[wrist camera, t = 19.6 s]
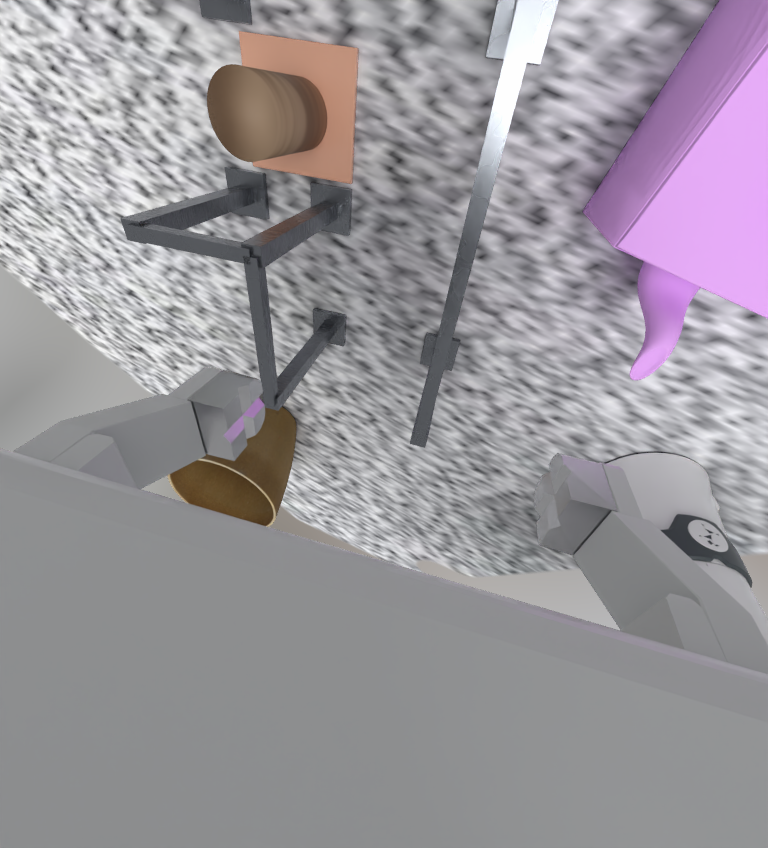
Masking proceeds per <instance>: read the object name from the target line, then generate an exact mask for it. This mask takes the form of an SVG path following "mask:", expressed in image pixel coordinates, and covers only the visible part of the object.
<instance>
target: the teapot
mask: <svg viewBox="0 0 768 848" xmlns="http://www.w3.org/2000/svg"><path fill="white" fill-rule="evenodd" d="M582 212H583V213H584V214H585V215H586V216H587V217H588V219H589V220H590V221H591V222H592V223H593V224H594V225H595V227H596V228H597V229H598V230H599V231H600V232H601V233H602V235H603V236H604V237H605V238H606V239H607V240H608V241H609V243H610V244H611V245H612V246H613V247H615V248H617V249H619V250H621V251H623V252H625V253H628V254H630V255H632V256H634V257H636V258H638V259H640V260H643V261H644V262H643V265H642V267H641V270H640V273H639V277H638V284H637V286H638V296H639V300H640V305H641V308H642V312H643V315H644V319H645V326H646V332H645V340H644V343H643V347H642V349H641V351H640V353H639V354H638V356H637V358H636V360H635V362H634V364H633V366H632V368H631V371H630V378H631V379H632V380H641V379H643V378H645V377H647V376H649V375H650V374H651V373H653V372H654V371H655V370H657V369H658V368H659V367H660V366H661V365H662V364H663V363H664V362H665V361H666V360H667V358H668V357H669V356H670V354H671V353H672V351H673V349H674V347H675V345H676V343H677V341H678V339H679V336H680V334H681V330H682V326H683V321H684V317H685V313H686V310H687V307H688V305H689V303H690V301H691V300H692V298H693V297H694V295H695V294H696V292H697V291H698V290H699V289H700V287H701V288H703V289H705V290H707V291H710V292H712V293H714V294H716V295H718V296H720V297H723V298H725V299H727V300H729V301H731V302H733V303H736V304H738V305H740V306H742V307H744V308H746V309H748V310H751V311H753V312H755V313H757V314H759V315H761V316H764V317H766V318H768V0H719V1H718V3H717V4H716V6H715V8H714V9H713V11H712V12H711V14H710V15H709V17H708V18H707V20H706V21H705V23H704V25H703V26H702V28H701V29H700V31H699V32H698V34H697V35H696V37H695V38H694V40H693V42H692V43H691V45H690V46H689V48H688V49H687V51H686V52H685V54H684V55H683V57H682V59H681V60H680V62H679V63H678V65H677V66H676V68H675V69H674V71H673V72H672V74H671V76H670V77H669V79H668V80H667V82H666V83H665V85H664V86H663V88H662V89H661V91H660V93H659V94H658V96H657V97H656V99H655V100H654V102H653V103H652V105H651V106H650V108H649V110H648V111H647V113H646V114H645V116H644V117H643V119H642V120H641V122H640V123H639V125H638V126H637V128H636V130H635V131H634V133H633V134H632V136H631V137H630V139H629V140H628V142H627V143H626V145H625V147H624V148H623V150H622V151H621V153H620V154H619V156H618V157H617V159H616V160H615V162H614V164H613V165H612V167H611V168H610V170H609V171H608V173H607V174H606V176H605V177H604V179H603V181H602V182H601V184H600V185H599V187H598V188H597V190H596V191H595V193H594V194H593V196H592V198H591V199H590V201H589V202H588V204H587V205H586V207H585V208H584V210H583V211H582Z"/></svg>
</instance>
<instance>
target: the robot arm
mask: <svg viewBox="0 0 768 848" xmlns="http://www.w3.org/2000/svg"><path fill="white" fill-rule="evenodd" d="M262 393H263V389H262V382H261V381H260V380H258V379H256V378H252V377H249V376H245V375H241V374H238V373H234V372H230V371H227V370H226V371H225V370H222V369H218V368H214V367H211V366H210V367H204V368H203V369H202V370H200V371H199V372H198V373H196V374H195V375H194V376H192V377H191V378H190V379H188V380H187V381H186V382H185V383H183V384H182V385H181V386H179V387H178V388H177V389H175V390H174V391H173V392H171V393H170V394H169V395H164V394H161V395H157V396H153V397H150V398H146V399H142V400H138V401H134V402H131V403H127V404H123V405H120V406H116V407H112V408H108V409H104V410H100V411H97V412H93V413H89V414H86V415H82V416H78V417H74V418H70V419H67V420H63V421H60V422H58V423H57V424H55V425H54V426H52V427H50V428H49V429H47V430H46V431H44V432H42V433H41V434H39V435H38V436H36V437H35V438H33V439H32V440H30V441H28V442H27V443H25V444H24V445H22V446H20V447H19V448H17V449H16V450H14V451H13V452H12V451H9V450H5V449H2V448H0V848H768V618H767V616H766V615H765V613H764V611H763V609H762V607H761V606H760V604H759V602H758V601H757V598H756V597H755V595H754V593H753V592H752V590H751V587H752V580H751V577H750V575H749V573H748V571H747V568H746V566H745V565H744V563H743V561H742V560H741V558H740V556H739V554H738V552H737V550H736V548H735V547H734V546H733V545H732V543H731V542H730V541H729V540H728V537H727V534H726V532H725V529H724V526H723V524H722V521H721V519H720V516H719V513H718V511H719V509H720V508H719V505H718V502H717V500H716V499H715V498H714V496H713V495H712V491H711V486H710V480H709V476H708V474H707V472H706V471H705V469H704V468H703V467H702V466H700V465H699V464H698V463H696V462H694V461H693V460H690V459H688V458H685V457H682V456H679V455H674V454H667V453H643V454H636V455H631V456H626V457H623V458H619V459H617V460H614V461H612V462H609V463H607V464H604V463H600V462H598V463H597V462H593V461H589V460H584V459H580V458H576V457H572V456H568V455H564V454H560V453H557V454H556V455H555V456H554V457H553V458H552V460H551V461H550V463H549V467H550V472H548V473H546V474H544V475H542V476H541V478H540V480H539V482H538V484H537V487H536V491H535V495H534V507H535V510H536V511H537V513H538V514H539V515H540V518H539V519H538V521H537V523H536V526H537V535H538V544H539V545H540V546H544V547H547V548H550V549H554V550H557V551H560V552H564V553H567V554H570V555H574V556H573V558H574V560H575V561H576V563H577V564H578V566H579V567H580V569H581V570H582V572H583V574H584V575H585V577H586V578H587V580H588V581H589V583H590V584H591V586H592V587H593V589H594V590H595V592H596V593H597V595H598V596H599V598H600V599H601V601H602V602H603V604H604V605H605V607H606V609H607V610H608V611H609V613H610V615H611V616H612V618H613V619H614V621H615V622H616V624H617V625H618V627H619V628H620V631H619V630H616V629H613V628H609V627H606V626H602V625H599V624H596V623H592V622H589V621H586V620H582V619H578V618H575V617H572V616H568V615H565V614H562V613H558V612H555V611H552V610H548V609H545V608H541V607H538V606H535V605H531V604H528V603H525V602H521V601H518V600H514V599H511V598H508V597H504V596H501V595H497V594H494V593H490V592H487V591H484V590H480V589H477V588H473V587H470V586H467V585H463V584H460V583H456V582H453V581H450V580H446V579H443V578H439V577H436V576H432V575H429V574H426V573H422V572H419V571H416V570H412V569H409V568H405V567H402V566H399V565H395V564H392V563H388V562H385V561H382V560H378V559H375V558H372V557H368V556H365V555H361V554H358V553H355V552H351V551H348V550H344V549H341V548H338V547H334V546H331V545H328V544H324V543H321V542H317V541H314V540H310V539H307V538H304V537H300V536H297V535H294V534H290V533H287V532H283V531H280V530H277V529H273V528H270V527H267V526H263V525H260V524H256V523H253V522H250V521H246V520H243V519H239V518H236V517H233V516H229V515H226V514H222V513H219V512H216V511H212V510H209V509H205V508H202V507H199V506H195V505H192V504H188V503H185V502H181V501H178V500H175V499H172V498H168V497H165V496H161V495H158V494H154V493H151V492H148V491H144V490H141V489H142V488H144V487H145V486H147V485H149V484H151V483H153V482H155V481H157V480H159V479H161V478H163V477H165V476H167V475H169V474H171V473H173V472H175V471H177V470H179V469H181V468H183V467H185V466H187V465H188V464H190V463H192V462H194V461H196V460H198V459H200V458H202V457H204V456H206V454H208V455H212V456H216V457H220V458H224V459H228V460H232V461H235V460H236V458H237V457H238V456H239V455H240V454H241V452H242V451H243V450H244V449H245V448H246V446H247V439H248V438H250V437H253V436H255V435H256V434H257V433H258V432H259V430H260V429H261V427H262V424H263V422H264V419H265V405H264V403H263V402H262V401H261V399H260V398H259V396H260V395H261V394H262Z"/></svg>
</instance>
